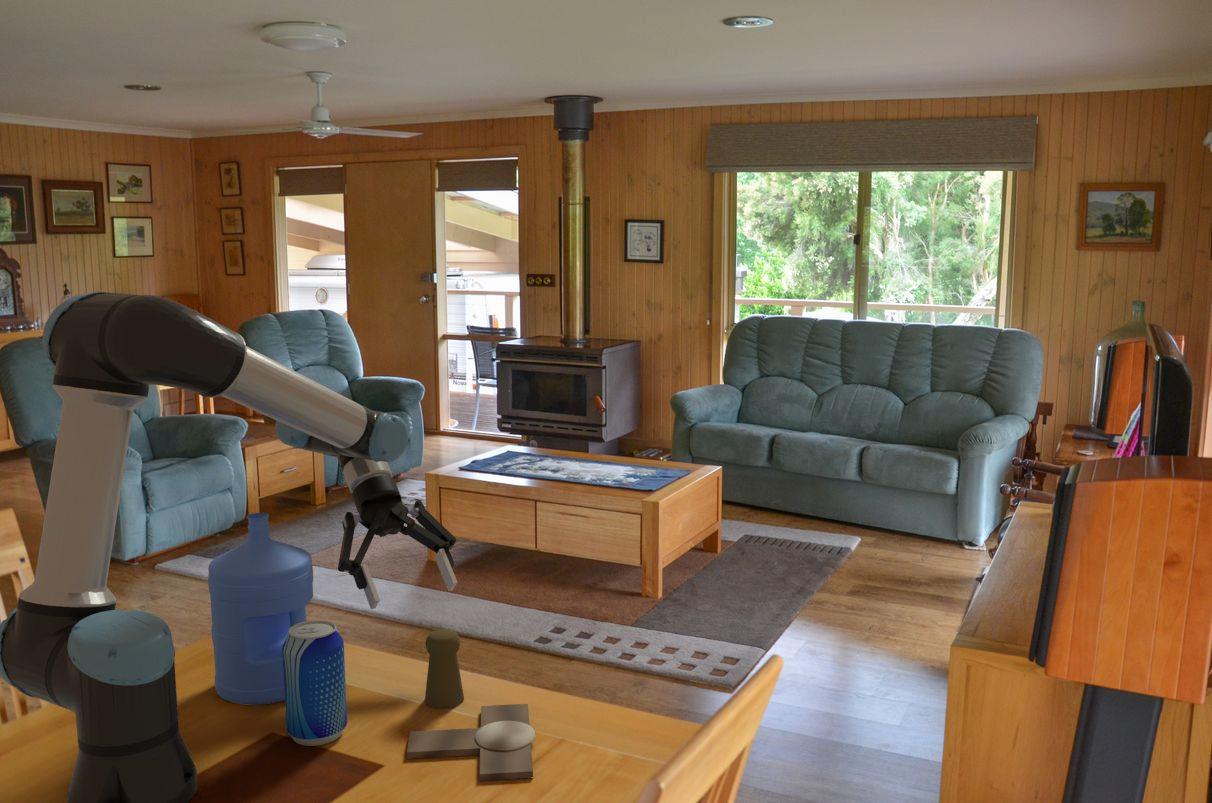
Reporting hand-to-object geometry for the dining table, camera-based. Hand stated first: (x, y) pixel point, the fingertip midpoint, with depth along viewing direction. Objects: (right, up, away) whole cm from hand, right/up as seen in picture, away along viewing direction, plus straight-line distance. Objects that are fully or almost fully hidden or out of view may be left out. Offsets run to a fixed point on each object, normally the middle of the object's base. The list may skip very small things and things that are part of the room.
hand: (415, 595), depth 167 cm
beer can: (-11, -17, -17) cm, 26 cm away
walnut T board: (+12, -17, -20) cm, 29 cm away
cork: (+6, -15, -6) cm, 17 cm away
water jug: (-23, -14, -1) cm, 27 cm away
